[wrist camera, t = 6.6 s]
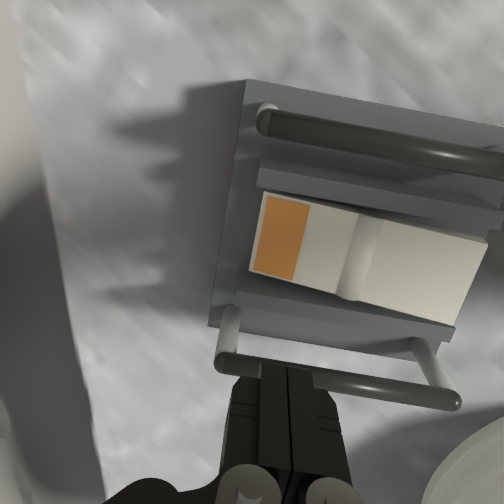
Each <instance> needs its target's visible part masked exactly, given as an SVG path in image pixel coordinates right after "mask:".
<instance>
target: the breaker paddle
mask: <svg viewBox="0 0 504 504" xmlns="http://www.w3.org/2000/svg"><path fill="white" fill-rule="evenodd" d="M488 245H489V244H488V243H487V242H486V241H485V240H484V239H483V238H482V237H479V236H475V235H471V234H466V233H462V232H458V231H454V230H449V229H445V228H441V227H437V226H432V225H428V224H424V223H420V222H415V221H411V220H407V219H403V218H398V217H394V216H390V215H386V214H382V213H380V212H377V211H374V210H370V209H364V208H356V207H352V206H347V205H343V204H339V203H335V202H330V201H326V200H322V199H318V198H313V197H309V196H305V195H300V194H295V193H289V192H284V191H279V190H273V189H268V188H267V189H266V190H265V191H264V193H263V199H262V204H261V209H260V214H259V219H258V224H257V230H256V235H255V240H254V245H253V250H252V256H251V261H250V266H249V271H252V272H255V273H259V274H263V275H267V276H270V277H274V278H278V279H281V280H285V281H289V282H292V283H296V284H300V285H304V286H307V287H311V288H315V289H318V290H322V291H326V292H329V293H333V294H336V295H337V296H339V297H341V298H344V299H347V300H352V301H357V300H359V301H363V302H366V303H370V304H374V305H378V306H381V307H385V308H389V309H392V310H396V311H400V312H403V313H407V314H411V315H415V316H418V317H422V318H426V319H429V320H433V321H437V322H441V323H444V324H448V325H452V326H453V324H454V322H455V320H456V318H457V315H458V313H459V311H460V309H461V306H462V304H463V302H464V300H465V297H466V295H467V293H468V290H469V288H470V286H471V284H472V281H473V279H474V277H475V275H476V272H477V270H478V268H479V265H480V263H481V261H482V259H483V256H484V254H485V252H486V250H487V247H488Z"/></svg>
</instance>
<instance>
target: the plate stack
mask: <svg viewBox="0 0 504 504" xmlns="http://www.w3.org/2000/svg"><path fill="white" fill-rule="evenodd" d="M421 504H504V416H503V417H501V418H499V419H497V420H495V421H493V422H492V423H490V424H488V425H486V426H485V427H483V428H481V429H480V430H478V431H477V432H475V433H474V434H472V435H471V436H470V437H468V438H467V439H466V440H464V441H463V442H462V443H461V444H460V445H458V446H457V447H456V448H455V449H454V450H453V451H452V452H451V453H450V454H449V455H448V456H447V457H446V458H445V459H444V460H443V462H442V463H441V464H440V465H439V467H438V468H437V469H436V471H435V472H434V474H433V475H432V477H431V479H430V481H429V483H428V485H427V487H426V489H425V492H424V495H423V498H422V503H421Z"/></svg>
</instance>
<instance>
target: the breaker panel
mask: <svg viewBox="0 0 504 504" xmlns="http://www.w3.org/2000/svg"><path fill="white" fill-rule="evenodd" d="M267 188H268V189H273V190H279V191H284V192H289V193H295V194H300V195H305V196H309V197H313V198H318V199H322V200H326V201H330V202H335V203H339V204H343V205H347V206H352V207H356V208H364V209H370V210H374V211H377V212H380V213H382V214H386V215H390V216H394V217H398V218H403V219H407V220H411V221H415V222H420V223H424V224H428V225H432V226H437V227H441V228H445V229H449V230H454V231H458V232H462V233H466V234H471V235H475V236H479V237H482V238H483V239H484V240H486V238H487V235H488V233H489V231H490V229H492V230H497V231H499V230H500V228H501V226H502V224H503V221H504V211H503V210H501V209H499V208H500V206H501V203H502V201H503V199H504V128H502V127H497V126H492V125H487V124H482V123H476V122H471V121H466V120H461V119H456V118H450V117H445V116H440V115H435V114H430V113H424V112H419V111H414V110H409V109H404V108H398V107H393V106H388V105H383V104H378V103H373V102H367V101H362V100H357V99H352V98H347V97H341V96H336V95H331V94H326V93H321V92H315V91H310V90H305V89H300V88H295V87H289V86H284V85H279V84H274V83H269V82H263V81H258V80H253V79H246V85H245V92H244V98H243V104H242V111H241V117H240V123H239V130H238V136H237V142H236V149H235V155H234V161H233V168H232V174H231V180H230V187H229V193H228V199H227V206H226V212H225V218H224V225H223V231H222V237H221V244H220V250H219V256H218V263H217V269H216V275H215V282H214V288H213V294H212V301H211V307H210V313H209V320H208V326H209V327H215V328H220V331H219V336H218V341H217V346H216V352H215V358H214V367H215V369H216V370H217V371H218V372H219V373H222V374H227V375H233V376H240V377H241V376H247V377H253V378H257V374H258V369H259V365H260V362H261V361H265V362H271V363H277V364H283V365H285V366H286V365H289V366H295V367H301V368H307V369H311V371H312V378H313V385H314V388H319V389H325V390H327V391H330V392H336V393H342V394H348V395H354V396H360V397H366V398H372V399H378V400H384V401H390V402H396V403H402V404H408V405H414V406H420V407H426V408H432V409H439V410H445V411H452V412H453V411H456V410H458V409H459V408H460V407H461V405H462V399H461V397H460V395H459V394H458V392H457V390H456V388H455V387H454V385H453V383H452V382H451V380H450V378H449V377H448V375H447V373H446V372H445V370H444V368H443V367H442V365H441V364H440V362H439V360H438V359H437V357H436V353H437V350H438V348H439V346H440V343H441V341H443V342H448V343H450V340H451V338H452V336H453V334H454V331H455V329H456V328H455V327H454V326H452V325H448V324H444V323H441V322H437V321H433V320H429V319H426V318H422V317H418V316H415V315H411V314H407V313H403V312H400V311H396V310H392V309H389V308H385V307H381V306H378V305H374V304H370V303H366V302H363V301H359V300H357V301H352V300H347V299H344V298H341V297H339V296H337V295H336V294H333V293H329V292H326V291H322V290H318V289H315V288H311V287H307V286H304V285H300V284H296V283H292V282H289V281H285V280H281V279H278V278H274V277H270V276H267V275H263V274H259V273H255V272H252V271H249V266H250V261H251V256H252V250H253V245H254V240H255V235H256V230H257V224H258V219H259V214H260V209H261V204H262V199H263V193H264V191H265V190H266V189H267ZM239 332H244V333H250V334H256V335H262V336H268V337H273V338H279V339H285V340H291V341H297V342H303V343H309V344H315V345H321V346H326V347H332V348H338V349H344V350H350V351H356V352H362V353H368V354H374V355H379V356H385V357H391V358H397V359H403V360H409V361H415V362H418V364H419V366H420V368H421V369H422V371H423V373H424V375H425V377H426V379H427V381H428V383H429V385H430V386H428V385H422V384H416V383H410V382H404V381H398V380H392V379H386V378H380V377H374V376H368V375H362V374H357V373H351V372H345V371H339V370H333V369H327V368H321V367H315V366H309V365H303V364H297V363H291V362H285V361H279V360H273V359H267V358H261V357H255V356H249V355H243V354H237V353H236V351H237V343H238V334H239Z"/></svg>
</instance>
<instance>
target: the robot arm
mask: <svg viewBox="0 0 504 504" xmlns="http://www.w3.org/2000/svg"><path fill="white" fill-rule="evenodd" d="M103 504H365V502H364V500H363V498H362V497H361V495H360V494H359V493H358V492H357V491H356V490H355V489H354V488H353V486H352V482H351V477H350V472H349V467H348V462H347V457H346V452H345V447H344V442H343V437H342V435H341V427H340V422H339V417H338V412H337V407H336V403H335V402H334V400H333V399H332V397H331V396H330V394H329V393H328V391H327V390H325V389H319V388H314V385H313V378H312V371H311V369H307V368H301V367H295V366H289V365H286V366H285V365H283V364H277V363H271V362H265V361H261V362H260V365H259V369H258V374H257V378H253V377H247V376H241V377H240V378H239V379H238V381H237V382H236V383H235V384H234V386H233V388H232V393H231V398H230V403H229V408H228V413H227V418H226V423H225V430H224V437H223V445H222V452H221V460H220V467H219V474H218V476H217V477H216V478H215V479H214V480H213V481H212V482H211V483H209V484H208V485H206V486H204V487H202V488H199V489H195V490H190V491H184V492H178V491H177V490H176V488H175V487H174V486H172V485H171V484H170V483H168V482H167V481H164V480H162V479H158V478H144V479H140V480H137V481H135V482H133V483H131V484H129V485H128V486H126V487H125V488H124V489H122V490H121V491H120V492H118V493H117V494H115V495H114V496H113V497H111V498H110V499H108V500H107V501H106V502H104V503H103Z"/></svg>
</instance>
